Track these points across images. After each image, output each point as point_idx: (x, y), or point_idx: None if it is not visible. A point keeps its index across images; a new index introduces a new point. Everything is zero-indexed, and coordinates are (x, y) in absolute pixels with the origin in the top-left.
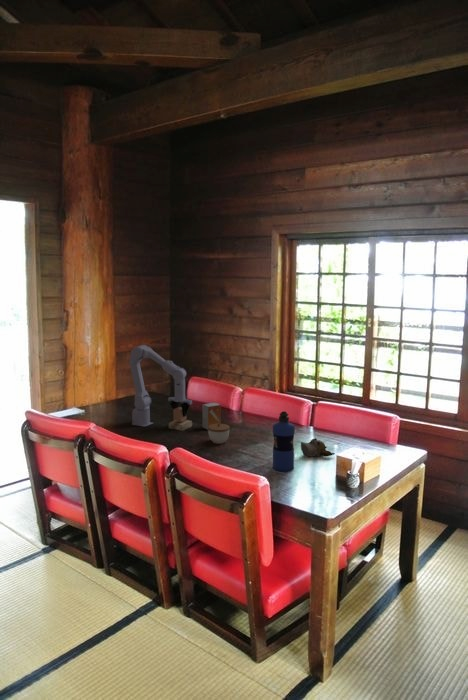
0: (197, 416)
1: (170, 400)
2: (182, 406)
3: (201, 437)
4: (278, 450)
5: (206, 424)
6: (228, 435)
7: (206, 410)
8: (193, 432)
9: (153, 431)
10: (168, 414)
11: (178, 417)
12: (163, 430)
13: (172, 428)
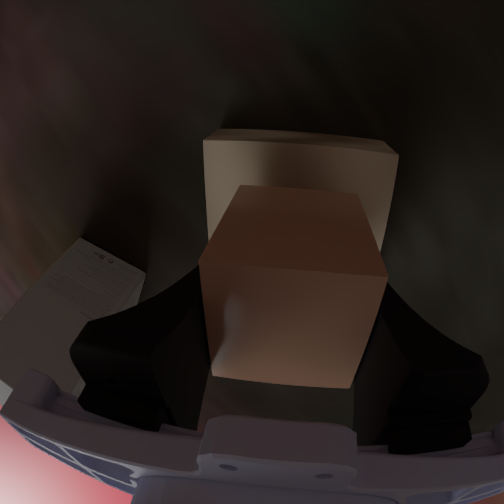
0: (317, 412)
1: (495, 439)
2: (140, 328)
3: (21, 93)
4: None
5: (78, 265)
6: None
7: (14, 342)
8: (114, 142)
9: (447, 6)
10: None
11: (274, 204)
12: (389, 57)
13: (340, 136)
